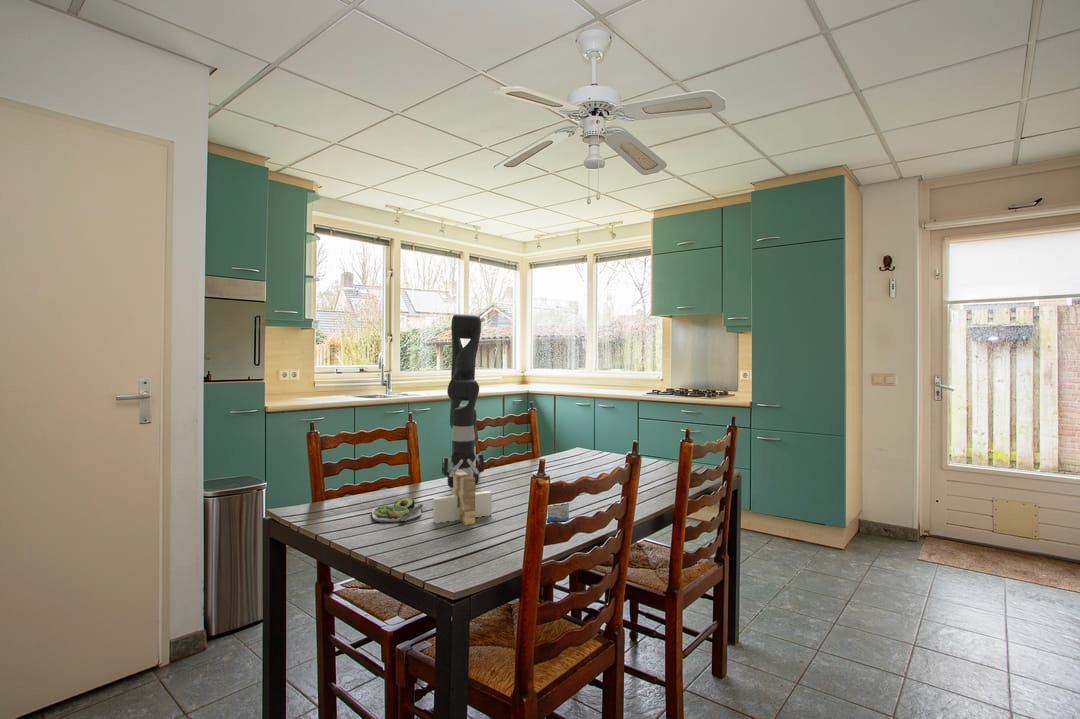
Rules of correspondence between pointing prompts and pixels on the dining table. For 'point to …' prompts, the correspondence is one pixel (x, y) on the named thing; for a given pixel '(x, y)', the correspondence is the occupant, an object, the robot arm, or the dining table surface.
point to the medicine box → (558, 513)
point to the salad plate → (398, 511)
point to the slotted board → (450, 511)
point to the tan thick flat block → (465, 495)
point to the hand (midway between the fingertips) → (463, 486)
